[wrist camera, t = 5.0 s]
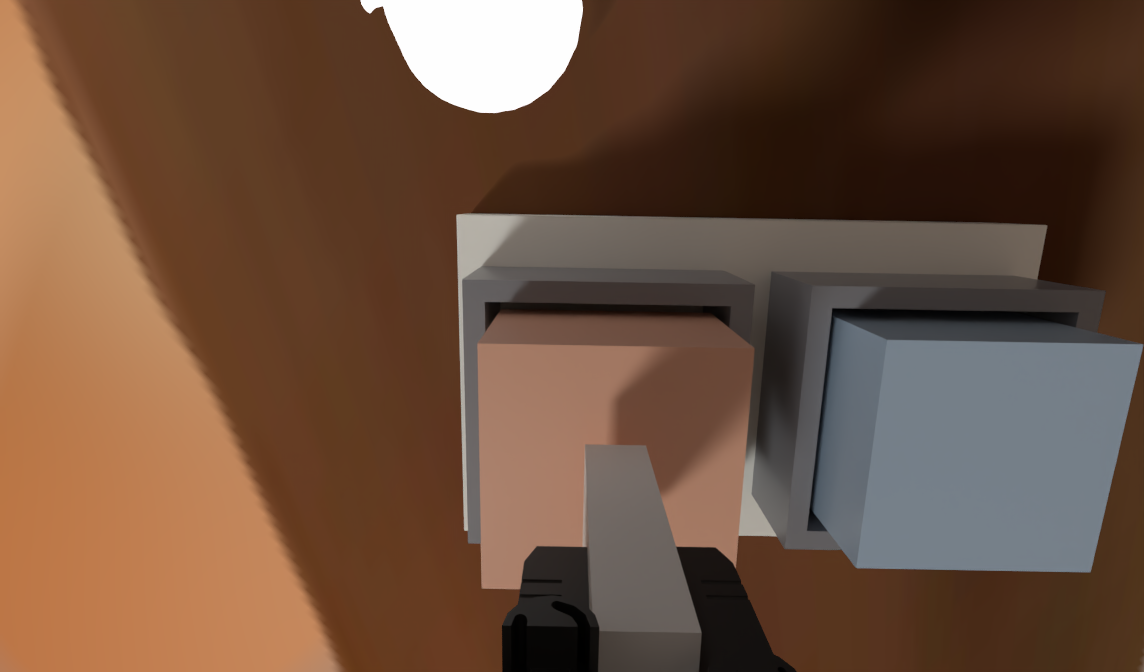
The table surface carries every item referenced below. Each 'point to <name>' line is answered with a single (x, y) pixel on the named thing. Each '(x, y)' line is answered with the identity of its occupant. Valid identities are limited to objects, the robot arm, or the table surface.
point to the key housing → (749, 310)
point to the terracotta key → (607, 424)
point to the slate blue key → (968, 439)
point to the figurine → (485, 47)
